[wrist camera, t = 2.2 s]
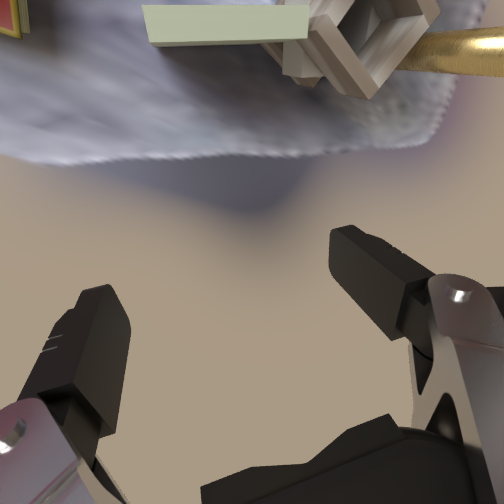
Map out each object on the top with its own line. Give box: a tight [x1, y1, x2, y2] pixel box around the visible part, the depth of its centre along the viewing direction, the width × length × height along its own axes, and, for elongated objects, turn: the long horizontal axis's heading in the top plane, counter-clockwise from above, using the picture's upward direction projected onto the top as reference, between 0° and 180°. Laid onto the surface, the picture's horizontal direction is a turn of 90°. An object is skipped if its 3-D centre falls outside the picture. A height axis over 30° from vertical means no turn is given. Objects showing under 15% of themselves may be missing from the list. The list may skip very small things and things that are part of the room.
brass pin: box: [394, 27, 504, 77], centre depth 25 cm, size 3×3×17 cm
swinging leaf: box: [142, 0, 380, 78], centre depth 22 cm, size 18×7×13 cm, turn 92°
